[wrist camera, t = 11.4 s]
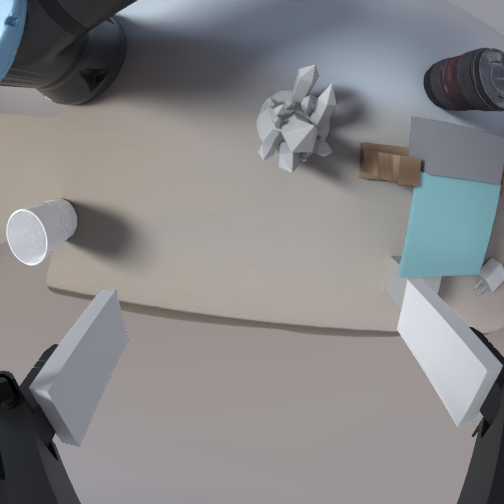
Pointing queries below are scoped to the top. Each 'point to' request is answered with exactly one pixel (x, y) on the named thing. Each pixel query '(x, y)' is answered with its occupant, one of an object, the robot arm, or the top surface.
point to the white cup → (40, 229)
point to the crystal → (296, 121)
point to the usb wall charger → (490, 276)
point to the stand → (393, 165)
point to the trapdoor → (451, 199)
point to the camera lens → (468, 81)
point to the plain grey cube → (404, 282)
